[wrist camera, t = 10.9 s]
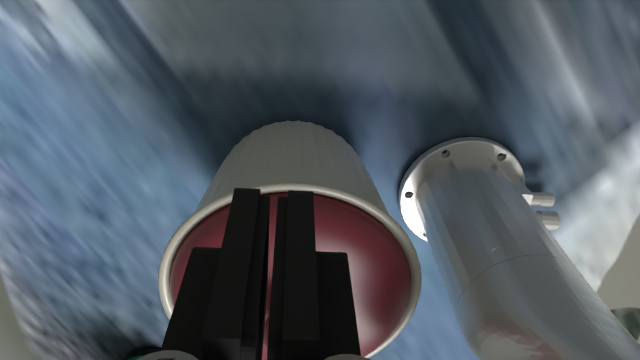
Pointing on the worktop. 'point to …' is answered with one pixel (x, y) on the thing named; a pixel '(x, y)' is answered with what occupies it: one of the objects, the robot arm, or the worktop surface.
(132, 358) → the supplement bottle
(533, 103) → the worktop surface
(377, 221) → the canister
